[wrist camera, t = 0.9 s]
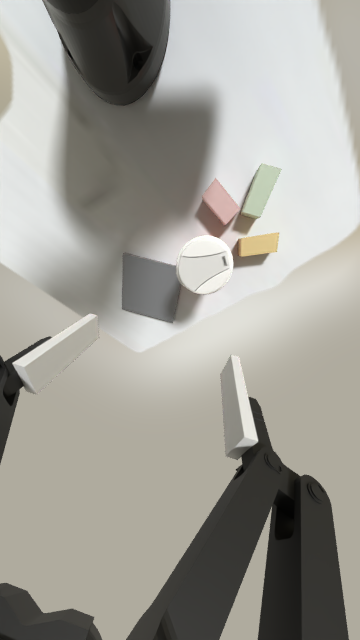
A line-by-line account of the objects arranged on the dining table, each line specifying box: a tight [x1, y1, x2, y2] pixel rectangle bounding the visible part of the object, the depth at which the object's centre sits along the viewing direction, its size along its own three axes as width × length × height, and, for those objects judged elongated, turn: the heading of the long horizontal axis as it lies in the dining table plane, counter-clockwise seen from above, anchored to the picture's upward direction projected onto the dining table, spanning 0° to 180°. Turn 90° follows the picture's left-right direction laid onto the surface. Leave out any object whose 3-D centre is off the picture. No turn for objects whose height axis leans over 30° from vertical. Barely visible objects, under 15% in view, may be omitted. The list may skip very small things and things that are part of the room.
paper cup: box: [176, 236, 233, 295], centre depth 26 cm, size 8×8×14 cm
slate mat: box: [122, 253, 181, 323], centre depth 37 cm, size 14×14×1 cm
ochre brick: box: [238, 233, 279, 257], centre depth 28 cm, size 6×3×3 cm, turn 99°
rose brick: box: [202, 178, 240, 226], centre depth 26 cm, size 6×3×3 cm, turn 47°
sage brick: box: [240, 163, 282, 219], centre depth 25 cm, size 6×3×3 cm, turn 165°
